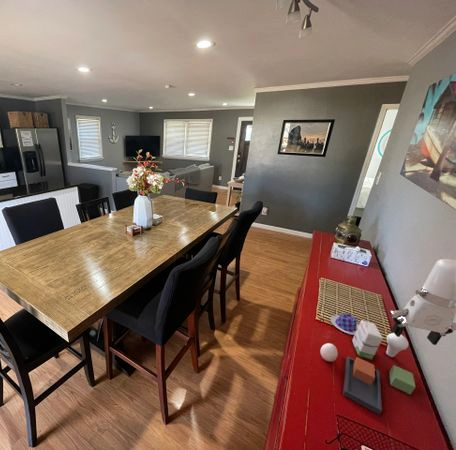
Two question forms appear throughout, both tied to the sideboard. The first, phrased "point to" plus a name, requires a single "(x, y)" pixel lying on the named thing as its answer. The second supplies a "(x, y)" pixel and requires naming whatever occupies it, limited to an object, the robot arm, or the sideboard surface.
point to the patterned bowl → (345, 323)
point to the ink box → (367, 339)
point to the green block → (402, 379)
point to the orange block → (363, 371)
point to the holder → (362, 389)
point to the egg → (329, 352)
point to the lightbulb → (395, 344)
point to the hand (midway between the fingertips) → (412, 337)
